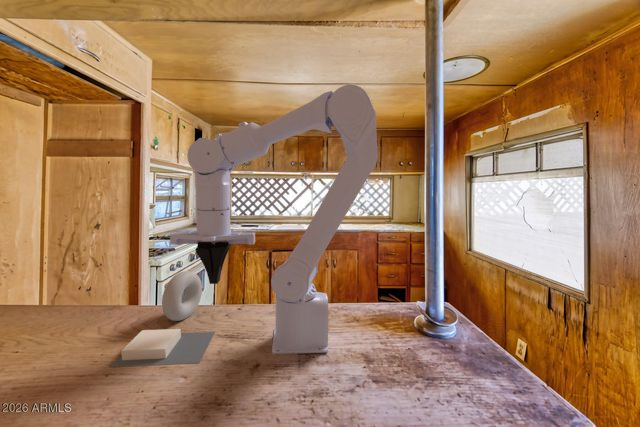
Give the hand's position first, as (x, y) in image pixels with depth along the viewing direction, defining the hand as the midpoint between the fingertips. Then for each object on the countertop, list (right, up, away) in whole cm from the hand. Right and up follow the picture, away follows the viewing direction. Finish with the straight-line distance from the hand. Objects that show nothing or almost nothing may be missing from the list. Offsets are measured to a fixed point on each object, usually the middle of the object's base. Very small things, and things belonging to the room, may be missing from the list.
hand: (214, 282), depth 51 cm
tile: (-5, -9, -5) cm, 11 cm away
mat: (-6, -10, -5) cm, 13 cm away
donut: (-9, -9, +6) cm, 14 cm away
